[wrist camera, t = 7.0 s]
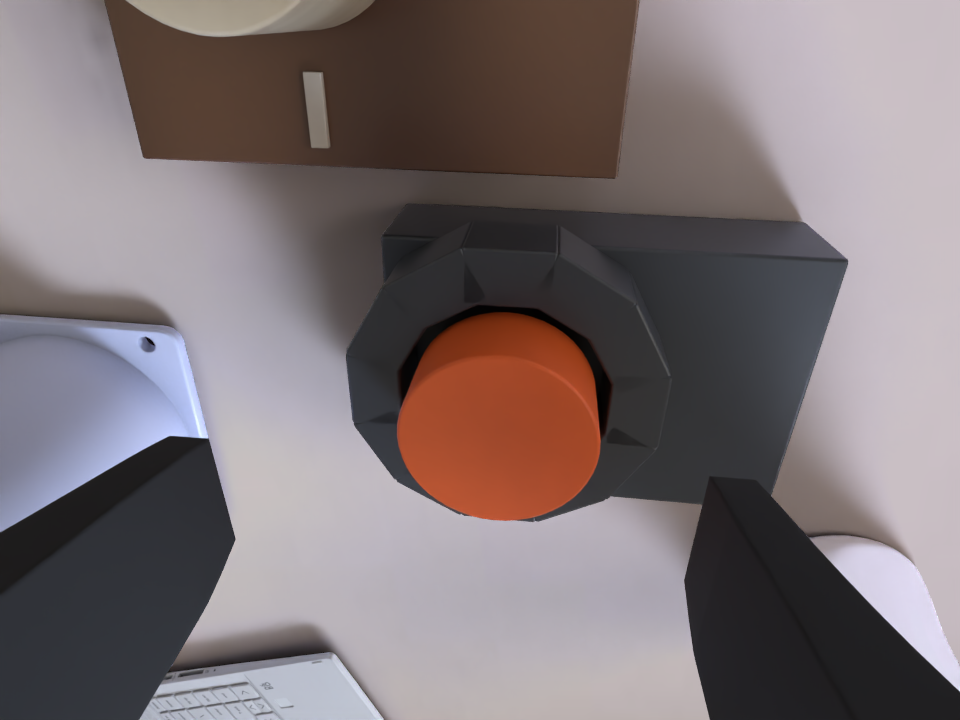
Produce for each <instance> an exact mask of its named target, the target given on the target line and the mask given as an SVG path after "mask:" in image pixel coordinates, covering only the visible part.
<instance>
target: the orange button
mask: <svg viewBox="0 0 960 720" xmlns="http://www.w3.org/2000/svg"><path fill="white" fill-rule="evenodd" d="M397 439H398V446H399V449H400V453H401V456H402V459H403V461H404V463H405V465H406V467H407V469H408V471H409V472H410V474H411V475H412V477H413V478H414V479H415V480H416V482H417V483H418V484H419V485H420V486H421V487H422V488H423V489H424V490H425V491H426V492H427V493H428V494H430V495H431V496H432V497H434V498H435V499H436V500H438V501H439V502H441V503H443V504H444V505H446V506H448V507H450V508H452V509H454V510H457V511H459V512H462V513H464V514H467V515H470V516H474V517H478V518H483V519H490V520H504V521H508V520H521V519H528V518H532V517H536V516H540V515H543V514H546V513H548V512H551V511H553V510H555V509H557V508H559V507H561V506H563V505H564V504H566V503H567V502H568V501H570V500H571V499H573V498H574V497H575V496H576V495H577V494H578V493H579V492H580V491H581V490H582V489H583V488H584V486H585V485H586V484H587V483H588V481H589V479H590V478H591V476H592V474H593V473H594V470H595V468H596V465H597V463H598V459H599V454H600V444H601V440H600V429H599V418H598V407H597V396H596V386H595V379H594V375H593V372H592V369H591V367H590V364H589V362H588V360H587V358H586V357H585V355H584V354H583V352H582V351H581V349H580V348H579V347H578V346H577V345H576V344H575V342H574V341H573V340H571V339H570V338H569V337H568V336H567V335H566V334H565V333H563V332H562V331H560V330H559V329H557V328H556V327H554V326H552V325H550V324H548V323H547V322H545V321H542V320H540V319H537V318H534V317H531V316H527V315H523V314H518V313H510V312H493V313H485V314H480V315H476V316H472V317H469V318H466V319H463V320H461V321H459V322H457V323H455V324H453V325H451V326H449V327H448V328H447V329H445V330H444V331H442V332H441V333H440V334H439V335H438V336H437V337H436V338H435V339H434V340H433V341H432V342H431V343H430V345H429V346H428V347H427V349H426V350H425V352H424V354H423V356H422V357H421V359H420V362H419V364H418V367H417V369H416V372H415V374H414V377H413V379H412V382H411V384H410V387H409V389H408V392H407V394H406V397H405V399H404V402H403V404H402V407H401V410H400V413H399V417H398V422H397Z"/></svg>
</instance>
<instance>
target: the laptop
mask: <svg viewBox="0 0 960 720" xmlns="http://www.w3.org/2000/svg"><path fill="white" fill-rule="evenodd" d="M139 720H384V719H383V718H382V716H381V715H380V714H379V712H378V711H377V710H376V708H375V707H374V706H373V704H372V703H371V701H370V700H369V699H368V697H367V696H366V695H365V693H364V692H363V691H362V689H361V688H360V687H359V685H358V684H357V683H356V681H355V680H354V679H353V677H352V676H351V675H350V673H349V672H348V671H347V669H346V668H345V666H344V665H343V664H342V662H341V661H340V660H339V658H338V657H337V656H336V655H335V654H334V653H331V652H328V653H320V654H311V655H303V656H295V657H287V658H279V659H270V660H262V661H254V662H246V663H238V664H230V665H223V666H215V667H207V668H200V669H192V670H185V671H177V672H171V673H167V674H166V676H165V677H164V679H163V681H162V682H161V684H160V686H159V687H158V689H157V691H156V692H155V694H154V696H153V698H152V699H151V701H150V703H149V704H148V706H147V708H146V709H145V711H144V713H143V714H142V716H141V718H140V719H139Z"/></svg>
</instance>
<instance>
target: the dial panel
mask: <svg viewBox="0 0 960 720" xmlns="http://www.w3.org/2000/svg"><path fill="white" fill-rule="evenodd" d="M639 1H640V0H375V1H374V2H373V3H372V4H371V5H370V6H369V7H368V8H367V9H365V10H364V11H363V12H362V13H361V14H359V15H358V16H356V17H354V18H353V19H351V20H349V21H347V22H345V23H343V24H340V25H338V26H335V27H331V28H326V29H322V30H310V31H297V32H284V33H270V34H257V35H244V36H229V37H212V36H202V35H196V34H192V33H188V32H184V31H181V30H178V29H176V28H173V27H170V26H168V25H165V24H163V23H161V22H159V21H157V20H155V19H154V18H152V17H150V16H148V15H146V14H144V13H143V12H142V11H140V10H139V9H137V8H136V7H135V6H133V5H132V4H130V3H129V2H127V1H126V0H105V4H106V8H107V12H108V16H109V20H110V24H111V28H112V33H113V37H114V41H115V45H116V49H117V53H118V57H119V61H120V65H121V69H122V73H123V77H124V81H125V85H126V89H127V93H128V97H129V101H130V105H131V109H132V113H133V118H134V122H135V126H136V130H137V134H138V138H139V142H140V146H141V150H142V154H143V157H144V158H146V159H167V160H191V161H214V162H237V163H260V164H283V165H306V166H329V167H353V168H376V169H399V170H422V171H445V172H468V173H491V174H515V175H538V176H561V177H584V178H607V179H615V178H617V176H618V169H619V161H620V153H621V145H622V137H623V129H624V121H625V113H626V105H627V97H628V89H629V81H630V73H631V65H632V57H633V49H634V41H635V33H636V25H637V17H638V9H639Z"/></svg>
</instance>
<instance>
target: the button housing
mask: <svg viewBox="0 0 960 720" xmlns="http://www.w3.org/2000/svg"><path fill="white" fill-rule="evenodd" d="M381 243H382V258H383V273H384V285H383V287H382V288H381V290H380V292H379V293H378V295H377V297H376V299H375V300H374V302H373V304H372V306H371V308H370V309H369V311H368V313H367V315H366V316H365V318H364V320H363V322H362V324H361V325H360V327H359V329H358V331H357V332H356V334H355V336H354V338H353V339H352V341H351V343H350V345H349V347H348V348H347V354H346V362H347V371H348V381H349V390H350V400H351V409H352V419H353V422H354V426H355V427H356V429H357V430H358V431H359V433H360V434H361V435H362V437H363V438H364V439H365V441H366V442H367V443H368V445H369V446H370V447H371V449H372V450H373V451H374V453H375V454H376V455H377V457H378V458H379V459H380V461H381V462H382V463H383V464H384V466H385V467H386V468H387V470H388V471H389V472H390V474H391V475H392V476H393V478H394V479H396V480H397V482H399V483H401V484H403V485H404V486H406V487H408V488H410V489H412V490H414V491H416V492H418V493H420V494H421V495H423V496H425V497H427V498H429V499H431V500H433V501H435V502H437V503H438V504H440V505H442V506H444V507H446V508H448V509H450V510H452V511H454V512H456V513H457V514H462V515H464V516H470V515H467V514H464V513H462V512H459V511H457V510H454V509H452V508H450V507H448V506H446V505H444V504H443V503H441V502H439V501H438V500H436V499H435V498H434V497H432V496H431V495H430V494H428V493H427V492H426V491H425V490H424V489H423V488H422V487H421V486H420V485H419V484H418V483H417V482H416V480H415V479H414V478H413V477H412V475H411V474H410V472H409V471H408V469H407V467H406V465H405V463H404V461H403V459H402V456H401V453H400V449H399V446H398V439H397V422H398V417H399V413H400V410H401V407H402V404H403V402H404V399H405V397H406V394H407V392H408V389H409V387H410V384H411V382H412V379H413V377H414V374H415V372H416V369H417V367H418V364H419V362H420V359H421V357H422V356H423V354H424V352H425V350H426V349H427V347H428V346H429V345H430V343H431V342H432V341H433V340H434V339H435V338H436V337H437V336H438V335H439V334H440V333H441V332H442V331H444V330H445V329H447V328H448V327H449V326H451V325H453V324H455V323H457V322H459V321H461V320H463V319H466V318H469V317H472V316H476V315H480V314H485V313H493V312H510V313H518V314H523V315H527V316H531V317H534V318H537V319H540V320H542V321H545V322H547V323H548V324H550V325H552V326H554V327H556V328H557V329H559V330H560V331H562V332H563V333H565V334H566V335H567V336H568V337H569V338H570V339H571V340H573V341H574V342H575V344H576V345H577V346H578V347H579V348H580V349H581V351H582V352H583V354H584V355H585V357H586V358H587V360H588V362H589V364H590V367H591V369H592V372H593V375H594V379H595V386H596V396H597V407H598V418H599V429H600V440H601V444H600V454H599V459H598V463H597V465H596V468H595V470H594V473H593V474H592V476H591V478H590V479H589V481H588V483H587V484H586V485H585V486H584V488H583V489H582V490H581V491H580V492H579V493H578V494H577V495H576V496H575V497H574V498H573V499H571V500H570V501H568V502H567V503H566V504H564V505H563V506H561V507H559V508H557V509H555V510H553V511H551V512H548V513H546V514H543V515H540V516H536V517H532V518H528V519H521V520H517V521H528V522H535V521H542V520H545V519H548V518H551V517H554V516H557V515H560V514H563V513H567V512H570V511H573V510H576V509H579V508H582V507H585V506H588V505H592V504H595V503H598V502H601V501H604V500H605V499H608V498H609V497H610V496H614V497H625V498H636V499H647V500H658V501H669V502H681V503H692V504H703V501H704V497H705V492H706V488H707V484H708V480H709V476H715V477H728V478H742V479H755V480H757V481H758V482H759V483H760V485H761V486H762V487H763V488H764V489H765V490H766V491H767V492H768V493H769V494H770V495H772V492H773V489H774V486H775V483H776V480H777V477H778V474H779V471H780V468H781V465H782V462H783V459H784V456H785V453H786V450H787V447H788V444H789V441H790V438H791V435H792V432H793V429H794V425H795V422H796V419H797V416H798V413H799V410H800V407H801V404H802V401H803V398H804V395H805V392H806V389H807V386H808V383H809V380H810V377H811V374H812V371H813V368H814V365H815V362H816V359H817V356H818V353H819V350H820V347H821V344H822V341H823V338H824V335H825V332H826V329H827V326H828V323H829V320H830V317H831V314H832V311H833V308H834V305H835V302H836V299H837V296H838V293H839V289H840V286H841V283H842V280H843V277H844V274H845V271H846V268H847V265H848V259H846V258H845V257H844V256H843V255H842V254H841V253H839V252H838V251H837V250H836V249H835V248H834V247H833V246H831V245H830V244H829V243H828V242H827V241H826V240H824V239H823V238H822V237H821V236H820V235H819V234H817V233H816V232H815V231H814V230H813V229H812V228H811V227H809V226H808V225H807V224H806V223H803V222H782V221H762V220H741V219H720V218H699V217H679V216H658V215H637V214H617V213H596V212H575V211H554V210H534V209H513V208H492V207H471V206H451V205H430V204H406V206H405V207H404V208H403V209H402V211H401V212H400V213H399V214H398V216H397V217H396V218H395V219H394V221H393V222H392V223H391V224H390V226H389V227H388V228H387V229H386V231H385V232H384V233H383V234H382V237H381Z"/></svg>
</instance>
